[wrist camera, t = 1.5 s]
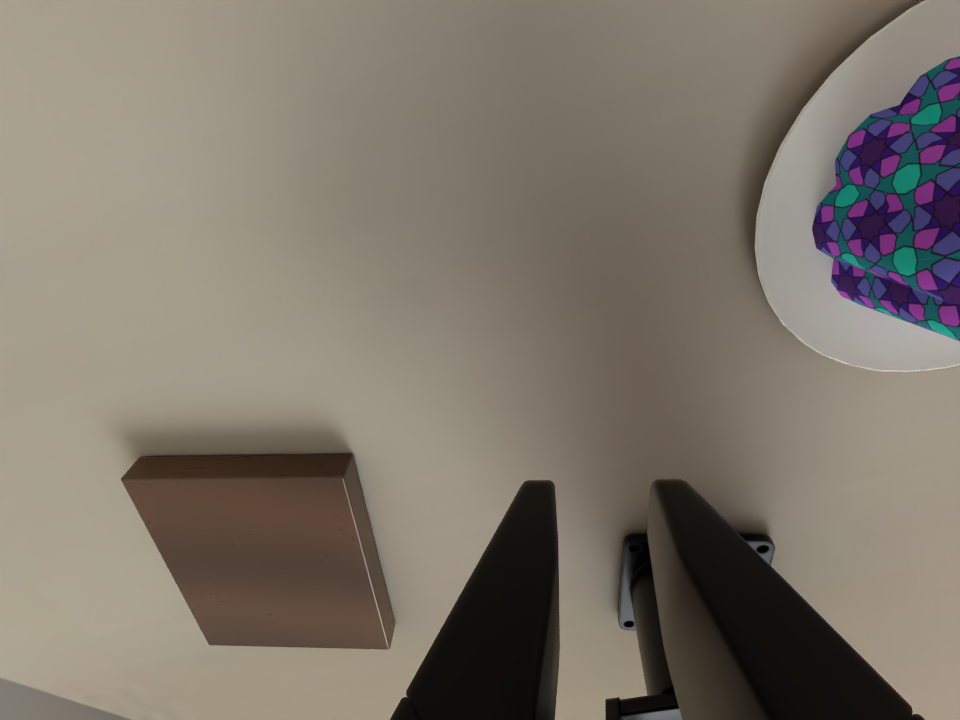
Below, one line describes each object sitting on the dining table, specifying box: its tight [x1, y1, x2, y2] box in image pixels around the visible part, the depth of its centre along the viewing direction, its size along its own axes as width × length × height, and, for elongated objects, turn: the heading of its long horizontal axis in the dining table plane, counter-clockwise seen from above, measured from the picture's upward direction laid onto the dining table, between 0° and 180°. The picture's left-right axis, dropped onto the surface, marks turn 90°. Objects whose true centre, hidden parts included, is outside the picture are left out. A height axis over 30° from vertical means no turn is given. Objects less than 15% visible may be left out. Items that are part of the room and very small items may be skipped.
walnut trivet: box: [121, 454, 395, 649], centre depth 28 cm, size 12×10×2 cm
